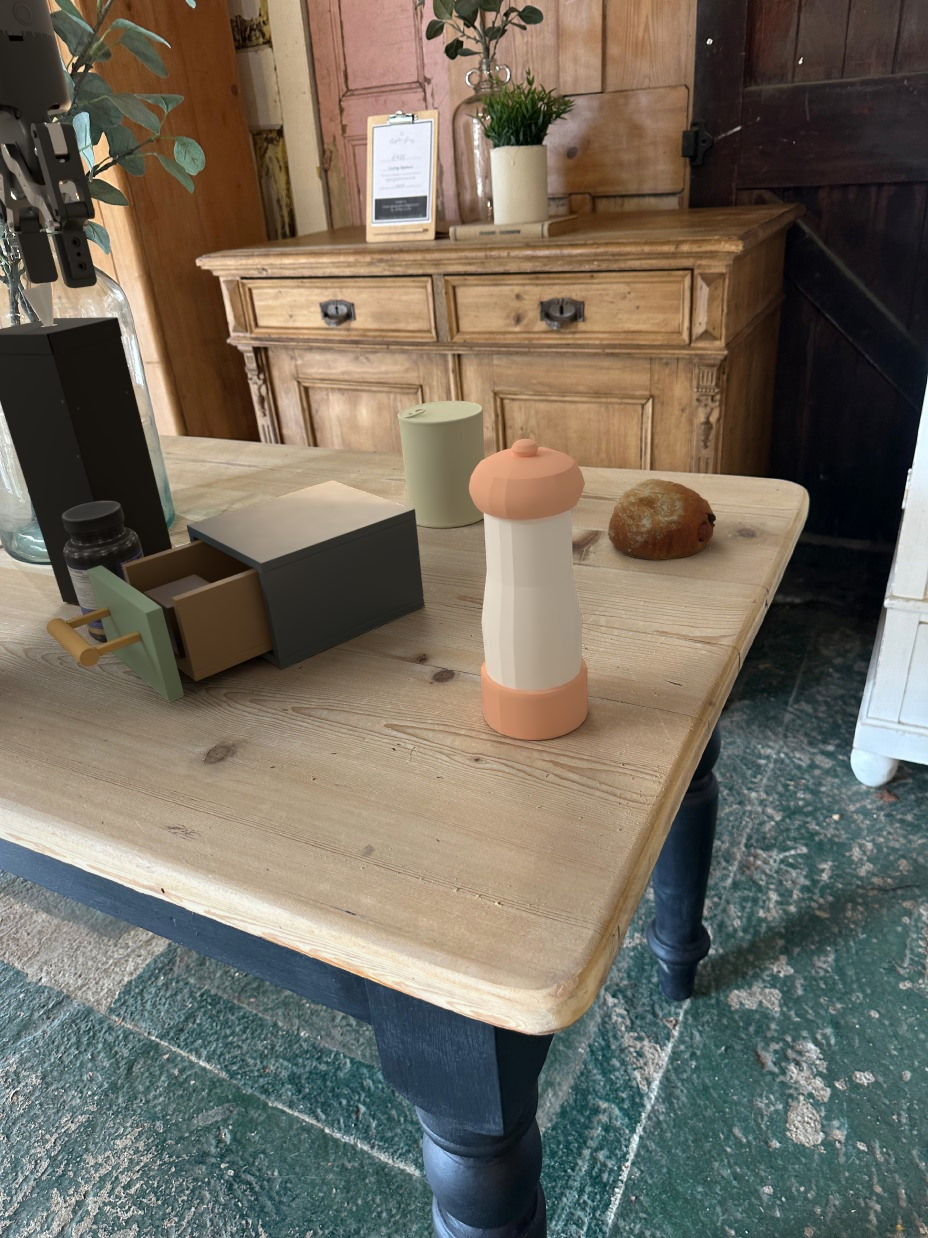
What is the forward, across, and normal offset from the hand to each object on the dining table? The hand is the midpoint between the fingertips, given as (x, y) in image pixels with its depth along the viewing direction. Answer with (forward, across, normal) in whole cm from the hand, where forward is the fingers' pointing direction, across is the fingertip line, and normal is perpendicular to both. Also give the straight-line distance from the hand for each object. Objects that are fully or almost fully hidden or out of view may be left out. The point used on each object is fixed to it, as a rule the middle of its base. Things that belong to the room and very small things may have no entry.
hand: (62, 284), depth 67 cm
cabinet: (+28, +13, +10) cm, 33 cm away
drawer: (+27, +13, -2) cm, 30 cm away
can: (+28, +3, +34) cm, 44 cm away
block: (+26, +13, -1) cm, 29 cm away
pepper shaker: (+28, +38, +12) cm, 49 cm away
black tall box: (+28, -6, 0) cm, 29 cm away
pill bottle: (+28, +2, -3) cm, 29 cm away
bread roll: (+28, +26, +42) cm, 57 cm away
